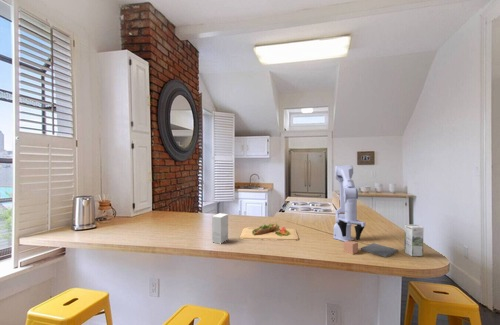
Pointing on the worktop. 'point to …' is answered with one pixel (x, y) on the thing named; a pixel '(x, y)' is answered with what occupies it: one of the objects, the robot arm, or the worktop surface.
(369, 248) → the mat
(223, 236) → the skincare box
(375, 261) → the worktop surface
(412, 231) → the syrup box
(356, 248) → the cube
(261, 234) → the cutting board
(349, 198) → the robot arm
